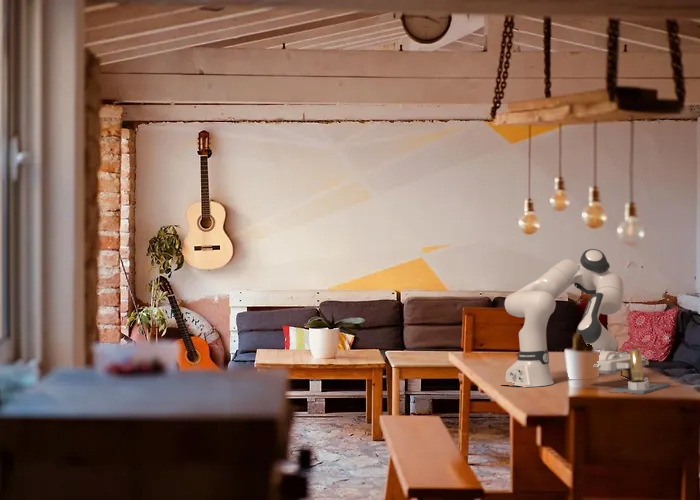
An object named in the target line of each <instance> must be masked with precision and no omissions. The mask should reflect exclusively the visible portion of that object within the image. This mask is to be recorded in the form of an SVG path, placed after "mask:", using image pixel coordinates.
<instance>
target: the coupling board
mask: <svg viewBox="0 0 700 500" xmlns="http://www.w3.org/2000/svg"><path fill="white" fill-rule="evenodd" d="M643 378H644V382H639V383H633V382H632V381H630V380H628V382H627V384H625V385H621V386H618V387H614V388H609V389H608V390H614V391H624V392H629V393H628V394H632V393H635V394H636V395H640V394H641V395H645V394H648V393H649V394H650V393H651V392H655V391H659V390H663V389H666V388H669V387H671V383H665V382H664V383H660V382H659V383H658V382H649V378H648V376H643Z"/></svg>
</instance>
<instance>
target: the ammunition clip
mask: <svg viewBox="0 0 700 500" xmlns="http://www.w3.org/2000/svg"><path fill="white" fill-rule="evenodd" d="M619 352H627V353H628V354H630V350H626V349H620V351H619ZM621 376H623V377H625V378H627V379H629V380H628V381H630V380H632V372H631V368H628V369H625V370H622V371H620V377H621Z"/></svg>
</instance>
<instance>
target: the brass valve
mask: <svg viewBox="0 0 700 500" xmlns="http://www.w3.org/2000/svg"><path fill="white" fill-rule="evenodd" d="M648 348H649V346H648V345H646V344H645V345H644V344H641V345H635V344H631V345H629V349H630V350H629V351H630V360H631V372H632V382H633V383H639V382H644V378H643V377H644V369H643V367H644V366H642V356H643V355H642V350H641V349H648ZM641 355H642V356H641Z"/></svg>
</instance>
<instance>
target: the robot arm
mask: <svg viewBox="0 0 700 500" xmlns="http://www.w3.org/2000/svg"><path fill="white" fill-rule="evenodd" d="M579 262H580V263H577V262H576V261H575V260H574V259H572V258H565V259H563V260H561V261H559V262H557V263H556V264H554V265H553V266H552V267H550V268H549V269H548V270H546V271H545V272H544V273H543V274H542V275H540V277H538V278H537V279H536V280H534V281H532V282H530V283H528V284H526V285H524V286H523V287H522V288H520V289H519V290H516V291H514V292H512V293H510V294H508V295H507V296H506V297H505V300H504V309H505V311H506V312H507V313H508V314H509V315H511V316H513V317H517V318H524V324H523V326H522V328H521V329H520V330H519V331H518V341H519V352H517V353H514V356H515V357H517V358H516V359H517V360H515V362H514V363H513V364H512V365H511V366H509V367H508V368H507V369H506V372H505V376H504V377H505V381H507V382H512V383H515V384H514V385H518V386H523V387H522V388H531V387H545V386H550V385H554V384H555V382H554V379H553V375H552V373H551V370H550V369H551V368H550V362H549V361H550V356H549V355H550V354H549V350H548V346H547V345H548V344H547V326H548V322H549V319H550V318H551V317H550V316H551V315H552V314H553V313H554V312H555V309H556V306H557V303H556V299H557V298H559V296H561V295H562V294H563V293H564V292H565V291H566V290H567V289H568V288H570V287H571V285H574V287H575V288H576V289H578V290H580V291H581V292H582V293H584V294H587V295H591V296H590V297H589V299H588V302H587V305H586V306H585V309H584V313H583V316H582V318H581V320H580V321H579V323H578V325H577V328H576V334H577V333H580V334H581V335H582V337H583V340H584V342H585V345H587V344H590V345H592V347H593V349H596V350H600V355H599V361H597V363H598V364H594V365H593V367H598V370H599V373H598V374H602V375H603V374H604V375H616V374H618V373H619V372H620V373H621V371H622V370H625V369H628V368H631V360H630V354H628V353H627V352H620V351H618V347H619V343H618V339H616V337H615V336H614V335H612V333H611V332H609V330H607V328H606V327H605V326H604V325H603V324H602V323H601V322H600V320H599V317H600V315H601V314H602V315H605V316H608V315H614V314H616V313H618V312H619V311H620V310H621V308H622V306H623V302H624V282H623V279H622V277H620V275H618V274H617V273H614V272H610V270H609V269H610V268H611V265H610V263H609V261H608V260H607V257H606V255H605V254H604V252H603V251H601V250H600V249H595V248H589V249H587V250H585V251H584V252H583V253H582V254H581V256H580V259H579ZM584 342H583V343H584ZM641 356H642V367H645V366H649V363H650V362H649V360H648V359H646V356H645V355H642V354H641Z"/></svg>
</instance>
